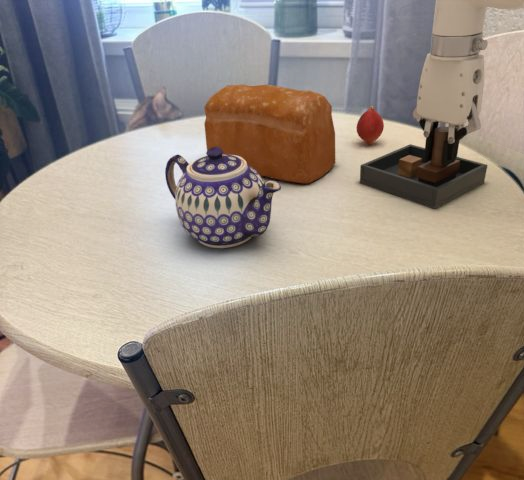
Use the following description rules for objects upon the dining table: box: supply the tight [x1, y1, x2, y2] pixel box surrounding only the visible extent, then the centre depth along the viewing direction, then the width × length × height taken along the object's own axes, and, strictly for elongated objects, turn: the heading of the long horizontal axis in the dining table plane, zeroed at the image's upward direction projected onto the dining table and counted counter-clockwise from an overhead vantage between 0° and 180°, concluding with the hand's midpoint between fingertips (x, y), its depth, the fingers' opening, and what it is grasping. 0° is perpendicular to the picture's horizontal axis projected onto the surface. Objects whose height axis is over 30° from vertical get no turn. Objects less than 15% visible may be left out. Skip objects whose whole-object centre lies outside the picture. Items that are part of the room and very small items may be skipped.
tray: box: [359, 143, 488, 210], centre depth 100 cm, size 18×15×4 cm
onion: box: [356, 105, 385, 145], centre depth 117 cm, size 6×6×8 cm
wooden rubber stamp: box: [417, 126, 460, 187], centre depth 95 cm, size 7×4×9 cm, turn 129°
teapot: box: [164, 147, 282, 249], centre depth 86 cm, size 25×15×15 cm, turn 48°
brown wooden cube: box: [398, 155, 422, 178], centre depth 101 cm, size 3×3×3 cm
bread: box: [204, 83, 336, 184], centre depth 109 cm, size 14×26×16 cm, turn 55°
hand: (439, 160), depth 96 cm, fingers closed on wooden rubber stamp, 3 cm apart
